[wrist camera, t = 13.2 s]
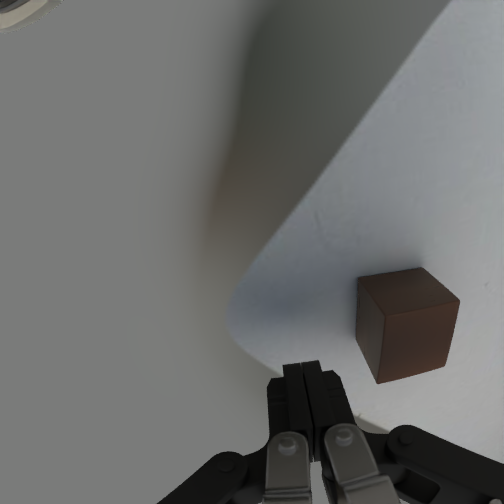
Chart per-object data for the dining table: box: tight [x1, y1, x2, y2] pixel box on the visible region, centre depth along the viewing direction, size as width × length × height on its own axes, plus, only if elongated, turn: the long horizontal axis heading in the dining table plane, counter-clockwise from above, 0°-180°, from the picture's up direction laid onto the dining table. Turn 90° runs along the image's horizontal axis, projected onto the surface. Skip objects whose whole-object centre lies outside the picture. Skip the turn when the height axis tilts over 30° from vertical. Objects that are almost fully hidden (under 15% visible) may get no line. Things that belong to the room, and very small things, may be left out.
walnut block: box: [356, 268, 460, 384], centre depth 15 cm, size 4×4×4 cm
